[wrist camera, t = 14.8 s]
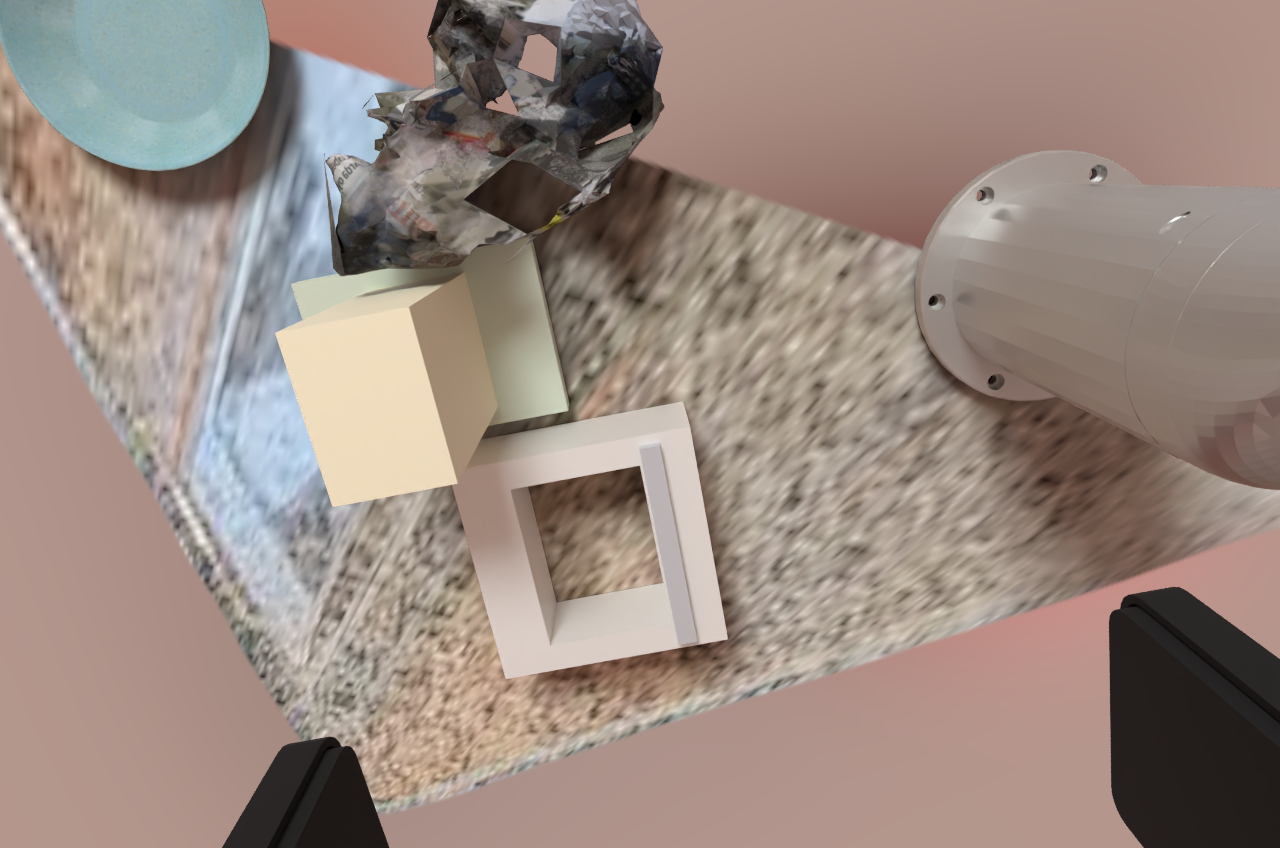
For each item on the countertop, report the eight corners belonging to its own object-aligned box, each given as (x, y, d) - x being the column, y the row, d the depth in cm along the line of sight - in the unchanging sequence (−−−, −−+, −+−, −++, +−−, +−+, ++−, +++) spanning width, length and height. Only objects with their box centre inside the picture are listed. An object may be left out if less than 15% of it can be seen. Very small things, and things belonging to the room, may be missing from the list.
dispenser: (682, 401, 43) (691, 429, 38) (717, 596, 47) (729, 644, 42) (465, 442, 43) (445, 475, 39) (516, 632, 47) (504, 684, 42)
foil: (703, 241, 37) (388, 299, 30) (584, 230, 46) (316, 272, 38) (688, -42, 33) (320, -60, 26) (561, 3, 42) (257, -1, 34)
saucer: (-25, -38, 36) (-66, -51, 34) (200, -155, 35) (173, -177, 33) (124, 209, 40) (95, 212, 38) (335, 110, 39) (318, 106, 36)
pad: (531, 235, 40) (529, 237, 39) (569, 404, 43) (568, 410, 42) (300, 280, 41) (291, 283, 39) (352, 445, 43) (344, 453, 42)
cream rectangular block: (464, 272, 40) (408, 306, 29) (498, 405, 42) (457, 483, 31) (366, 291, 40) (275, 332, 29) (404, 423, 42) (332, 507, 31)
